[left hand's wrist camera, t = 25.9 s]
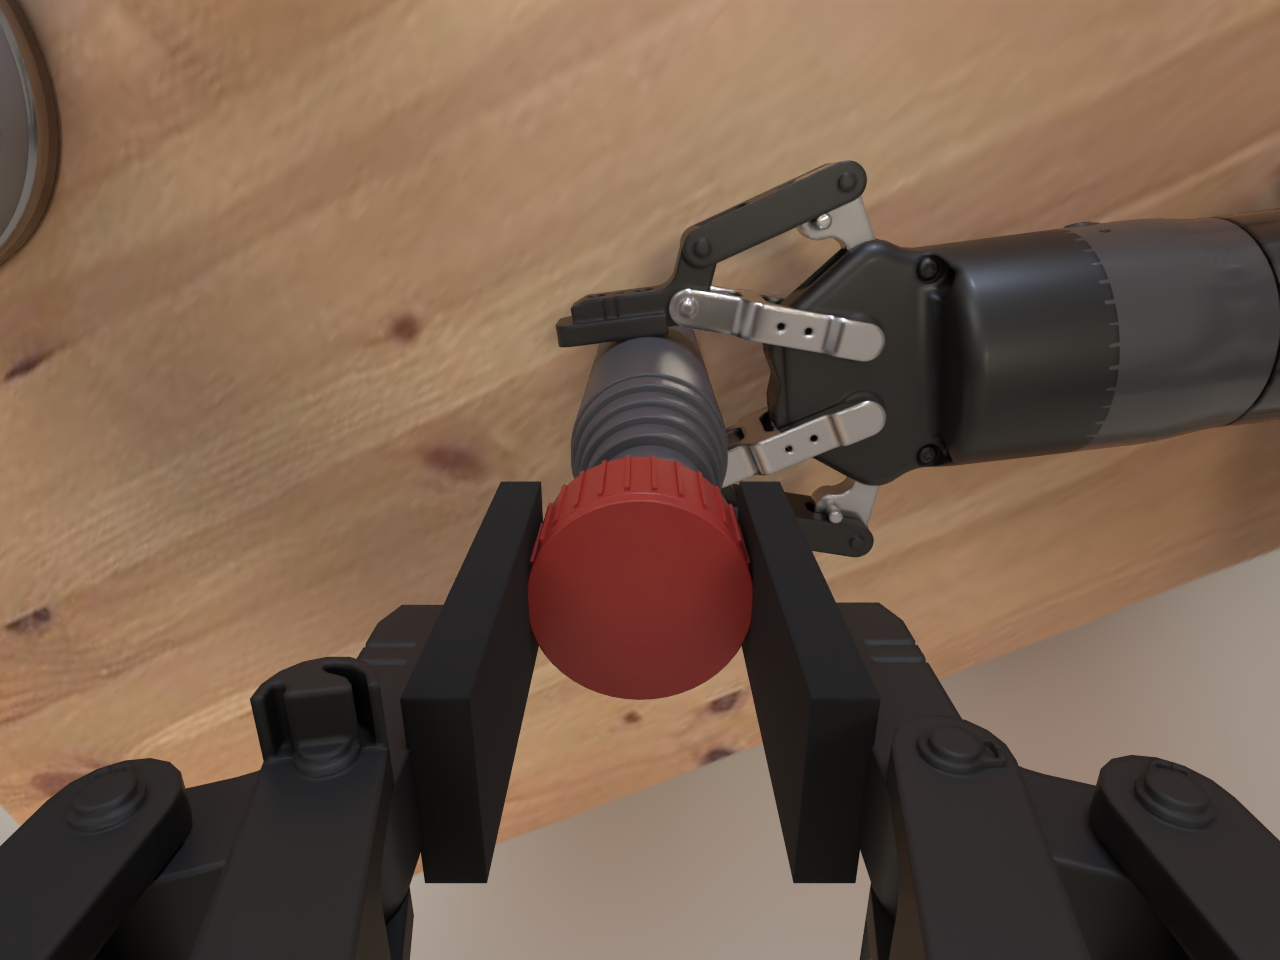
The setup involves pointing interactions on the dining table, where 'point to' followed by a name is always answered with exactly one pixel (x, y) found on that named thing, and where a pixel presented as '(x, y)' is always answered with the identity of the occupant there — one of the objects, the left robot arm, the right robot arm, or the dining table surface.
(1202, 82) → the dining table surface
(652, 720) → the dining table surface
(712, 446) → the bottle
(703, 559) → the cap
